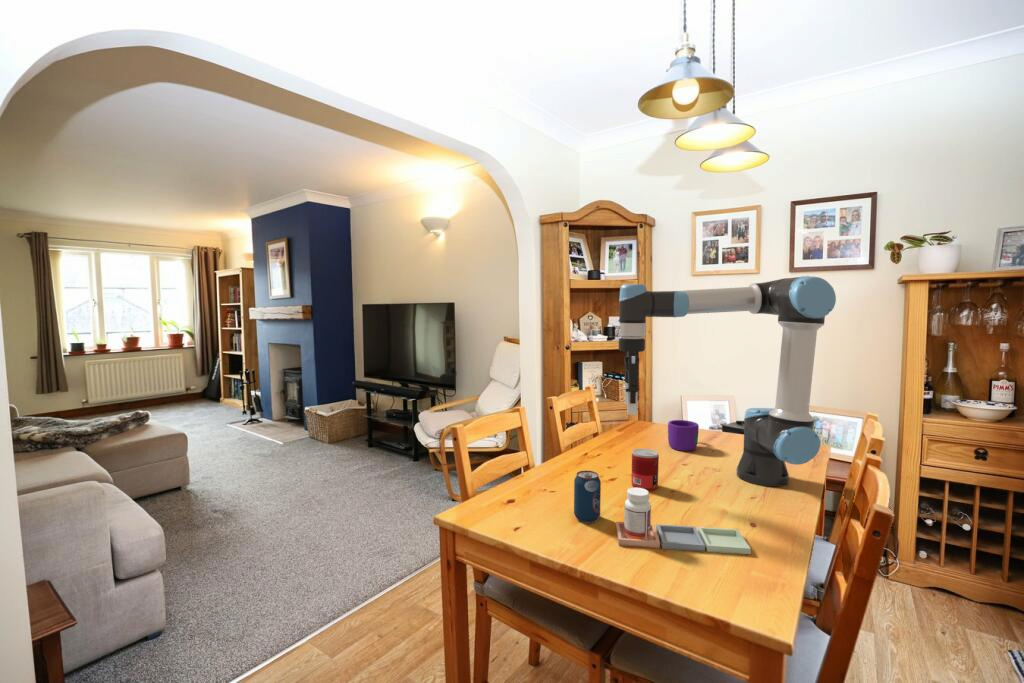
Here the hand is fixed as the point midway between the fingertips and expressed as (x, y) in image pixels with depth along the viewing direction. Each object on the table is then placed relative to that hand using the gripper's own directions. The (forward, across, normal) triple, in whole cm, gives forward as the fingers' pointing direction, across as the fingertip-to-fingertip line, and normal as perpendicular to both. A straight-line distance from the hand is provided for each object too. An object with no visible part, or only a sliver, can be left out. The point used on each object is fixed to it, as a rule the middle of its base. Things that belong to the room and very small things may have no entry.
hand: (630, 409), depth 143 cm
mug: (+26, -54, +25) cm, 65 cm away
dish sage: (+26, +26, +20) cm, 42 cm away
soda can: (+26, +18, -12) cm, 34 cm away
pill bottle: (+26, +27, 0) cm, 37 cm away
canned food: (+26, -7, +5) cm, 27 cm away
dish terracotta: (+26, +27, 0) cm, 37 cm away
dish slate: (+26, +27, +10) cm, 39 cm away
